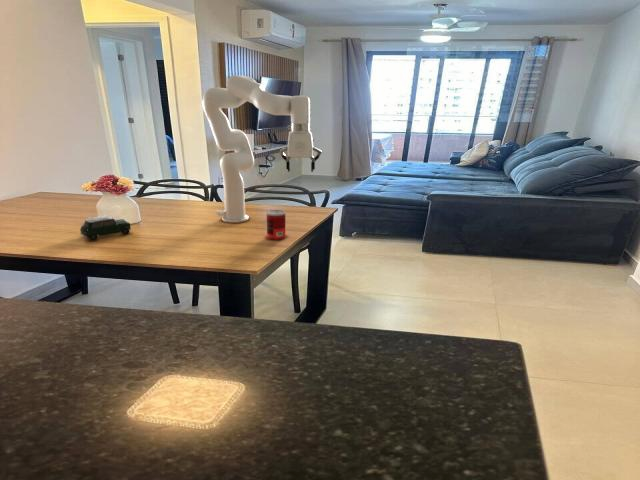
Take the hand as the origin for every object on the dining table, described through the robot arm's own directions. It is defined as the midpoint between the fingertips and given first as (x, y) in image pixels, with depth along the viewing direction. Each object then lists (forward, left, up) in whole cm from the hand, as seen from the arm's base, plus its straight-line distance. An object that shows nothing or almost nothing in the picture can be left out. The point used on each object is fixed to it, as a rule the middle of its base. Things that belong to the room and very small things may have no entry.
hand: (300, 171), depth 158 cm
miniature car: (-80, -7, -27) cm, 85 cm away
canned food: (-10, -6, -27) cm, 30 cm away
